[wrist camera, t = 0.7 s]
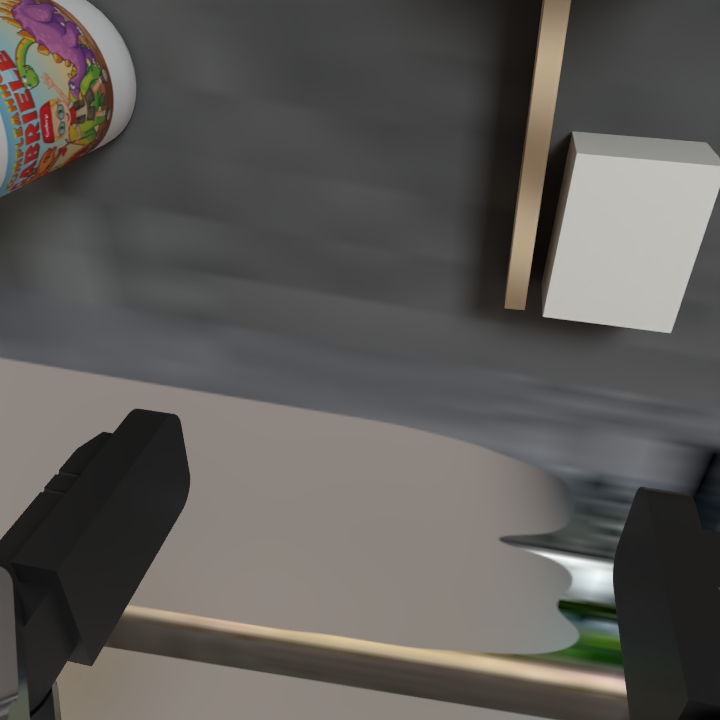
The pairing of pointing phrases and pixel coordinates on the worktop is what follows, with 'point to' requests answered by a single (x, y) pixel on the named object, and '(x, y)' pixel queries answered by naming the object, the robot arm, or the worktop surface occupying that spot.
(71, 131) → the milk bottle
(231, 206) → the worktop surface
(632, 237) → the off-white matte block
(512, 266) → the row of books
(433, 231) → the worktop surface
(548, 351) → the worktop surface
